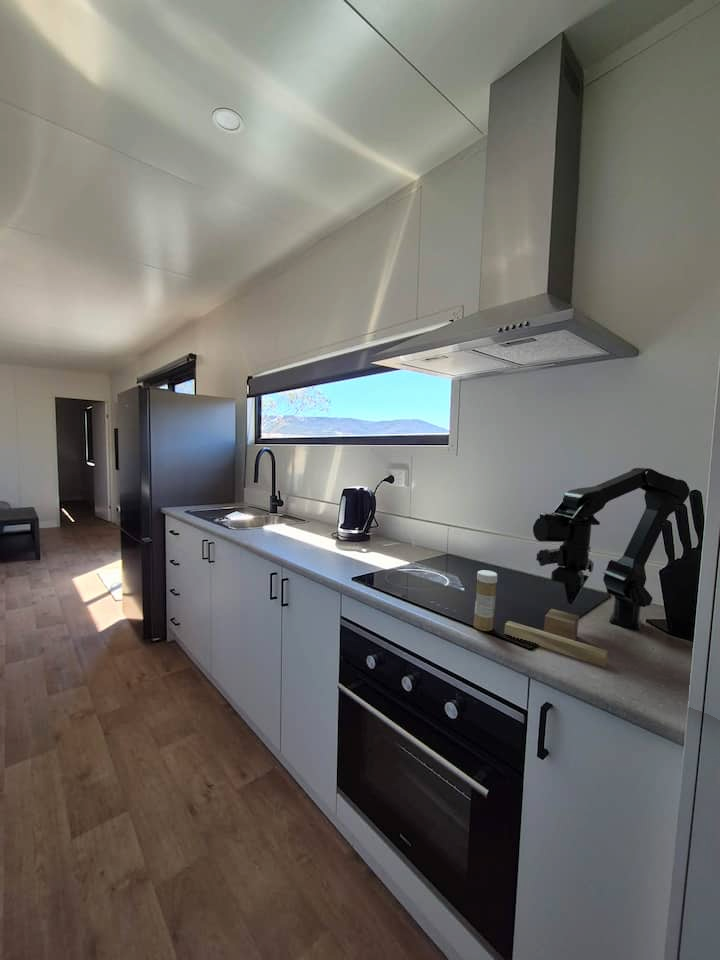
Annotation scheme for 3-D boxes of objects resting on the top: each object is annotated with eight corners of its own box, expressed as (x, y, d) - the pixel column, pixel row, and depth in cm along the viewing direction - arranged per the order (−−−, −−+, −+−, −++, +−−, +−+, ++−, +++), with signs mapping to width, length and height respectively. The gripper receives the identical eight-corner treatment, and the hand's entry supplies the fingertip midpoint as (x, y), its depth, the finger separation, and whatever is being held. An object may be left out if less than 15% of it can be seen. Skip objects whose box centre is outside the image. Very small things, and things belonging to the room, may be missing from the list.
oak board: (507, 630, 94) (508, 620, 94) (606, 662, 82) (607, 650, 82) (504, 634, 92) (505, 623, 92) (604, 667, 80) (605, 655, 80)
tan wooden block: (549, 628, 98) (551, 608, 97) (577, 636, 94) (579, 616, 94) (543, 636, 93) (545, 615, 93) (571, 645, 89) (573, 623, 89)
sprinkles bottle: (478, 621, 99) (482, 568, 98) (496, 628, 96) (501, 573, 95) (469, 627, 95) (474, 571, 94) (487, 633, 92) (492, 576, 91)
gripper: (550, 531, 111) (545, 586, 112) (531, 541, 96) (525, 604, 97) (596, 538, 104) (590, 597, 105) (583, 550, 89) (576, 618, 90)
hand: (570, 603), depth 100 cm, fingers closed
